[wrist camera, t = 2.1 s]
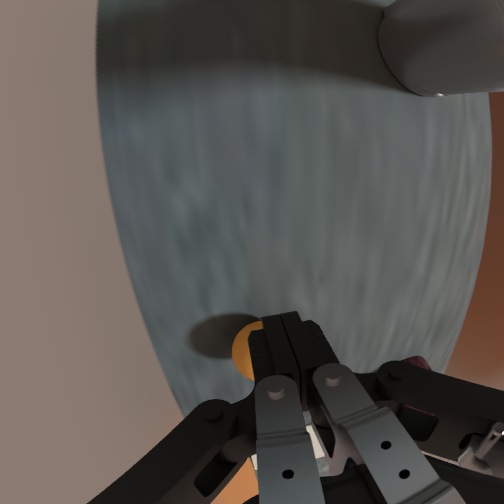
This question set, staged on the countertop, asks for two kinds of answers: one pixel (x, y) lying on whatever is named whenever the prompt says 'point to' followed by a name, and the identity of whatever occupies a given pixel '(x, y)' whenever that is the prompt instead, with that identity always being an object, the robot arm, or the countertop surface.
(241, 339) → the ball
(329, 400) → the robot arm
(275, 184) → the countertop surface
